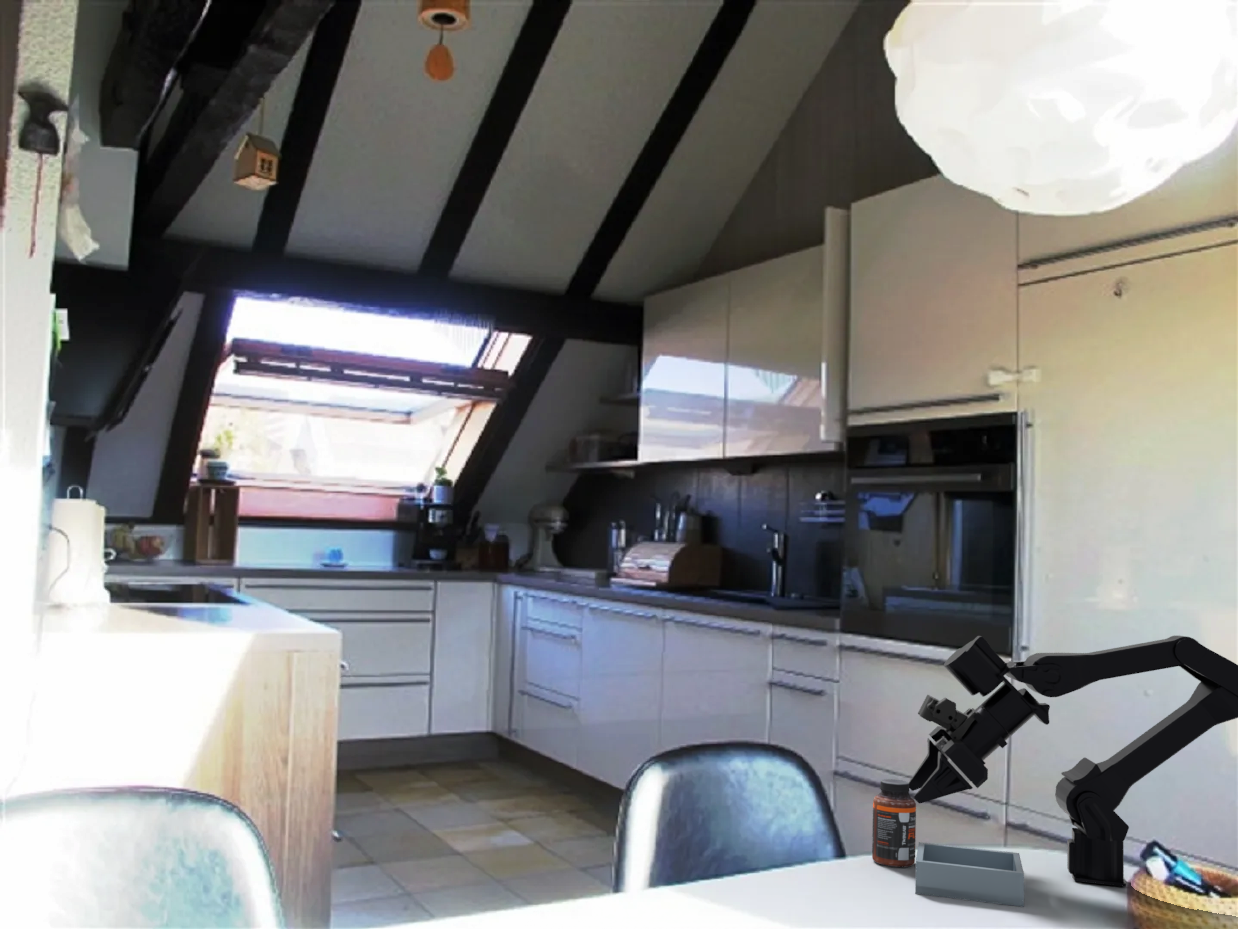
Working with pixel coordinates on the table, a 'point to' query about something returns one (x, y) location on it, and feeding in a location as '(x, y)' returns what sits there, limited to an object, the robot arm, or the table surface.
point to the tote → (969, 874)
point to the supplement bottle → (894, 825)
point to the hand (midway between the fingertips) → (912, 794)
